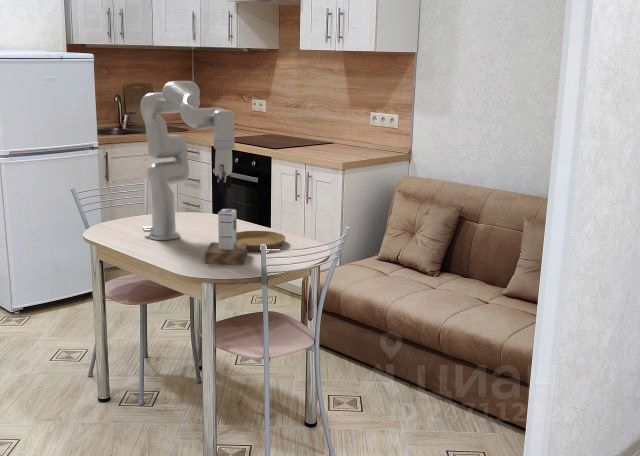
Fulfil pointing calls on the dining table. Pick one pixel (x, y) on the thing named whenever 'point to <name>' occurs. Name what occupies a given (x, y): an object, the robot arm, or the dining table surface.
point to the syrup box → (227, 229)
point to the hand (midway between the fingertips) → (224, 190)
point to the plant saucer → (260, 239)
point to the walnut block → (226, 255)
